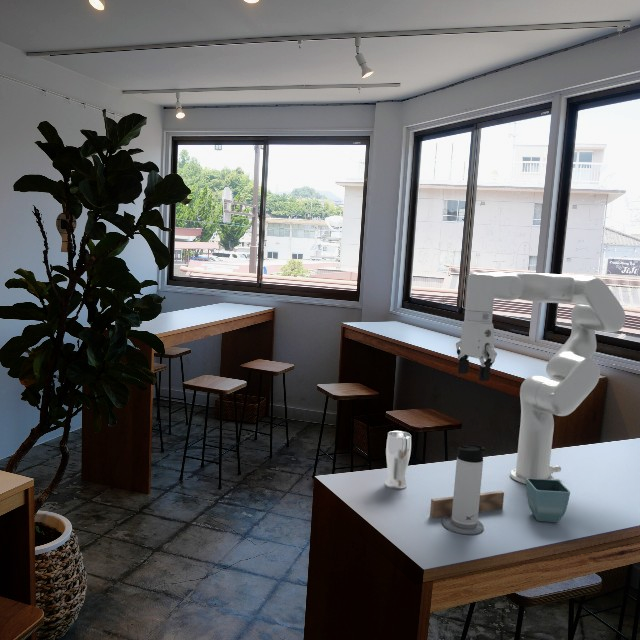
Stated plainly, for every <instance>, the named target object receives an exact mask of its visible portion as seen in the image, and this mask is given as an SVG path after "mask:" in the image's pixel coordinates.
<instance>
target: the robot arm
mask: <svg viewBox="0 0 640 640" xmlns="http://www.w3.org/2000/svg"><path fill="white" fill-rule="evenodd" d="M465 297H466V299H465V308H464V309H465V310H464V320H463V323H462V327H461V335H460V340H459V341H457V342H456V343H455V347H456V354H457V360H458V366H457V373H458V374H462V375H463V374H464V375H465V374H469V367H470V360H469V357H471V358H475V359H478V360H479V363H480V366H479V371H478V381H479V382H488V381H490V376H491V375H490V374H491V367H493V364H494V363H495V362H496V361H495V360H496V358H497V355H498V353H497V351H496V350H495V329H494V323H493V315H494V314H493V313H494V312H493V311H494V304H495V303H494V302H495V300H501V301H510V302H511V301H515V300H522V301H527V302H535V303H540V304H541V303H544V304H549V303H550V304H551V303H552V304H573V305H574V304H575V305H574V306H573V308H572V310H571V312H570V313H571V314H570V318H571V333H570V336H569V337H568V339H567V340H566V341H565V343H564V344H563V345H562V346H561V347H560V349H559V350H558V351H556V353H554V355H553V356H552V357H551V358H550V359H549V361H548V362H547V364H546V366H545V373H546V375H547V376H548V377H546V376H542V375H531V376H529V377H526V379H524V380H523V382H522V383H521V385H520V388H519V389H520V390H519V397H520V411H521V412H520V424H519V425H520V427H519V435H518V445H517V453H516V454H517V455H516V465H515V468H513V469H511V470H510V471H509V472H510V474H509V475H510V477H511V478H512V480H514V481H517V482H519V483H521V484H524V485H525V484H526V478H531V479H547V480H555V479H554V477H553V475H552V474H553V473H560V472H561V471H562V467H561V466H560V465H552V464H551V456H552V447H553V446H552V445H553V436H554V428H555V422H554V421H555V420H554V416H559V417H566V416H569V415H570V414H572V413H573V412H574V411H575V410H576V409H577V408H578V407H579V406H580V405H581V404H582V403H583V401H584V400H585V399H586V398H587V397H588V396H589V394H590V393H591V392H592V391H593V390H594V389H595V388H596V386H597V384H598V383H599V382H600V381H599V380H600V377H601V367H600V365H599V363H598V362H597V361H596V360H595V359H593V356H594V355H595V353H596V351H597V348H598V347H597V338H596V337H597V336H596V331H599V332H604V333H611V334H612V333H616V332H618V331H620V330H621V329H623V327H624V326H625V323H626V316H627V315H626V312H625V310H624V308H623V306H622V305H621V303H620V302H619V300H618V299H617V297H616V296H615V294H614V293H613V292H612V290H611V289H610V288H609V286H608V285H607V284H606V283H605V282H604V281H603V280H602V279H600V278H599V277H597V276H596V277H595V276H588V275H577V274H576V275H575V274H557V273H545V272H544V273H541V272H540V273H535V272H531V273H511V272H510V273H509V272H491V271H490V272H488V271H487V272H471V273H469V275H468V277H467V285H466V296H465ZM553 415H554V416H553Z"/></svg>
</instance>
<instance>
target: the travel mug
mask: <svg viewBox="0 0 640 640" xmlns="http://www.w3.org/2000/svg"><path fill="white" fill-rule="evenodd" d="M486 449H487V448H486V447H485V446H482V445H478V444H462V445H460V446H459V447H458V448H457V456H456V462H455V463H456V464H455V476H454V484H453V486H454V488H453V496H452V497H453V508H452V519H451V522H452V524H453V525H455V526H456V527H459V528H463V529H473V528H475V527H477V522H478V521H479V520H478V519H479V512H478V511H479V500H480V493H481V488H482V475H483V465H484V453H485V452H486Z"/></svg>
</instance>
